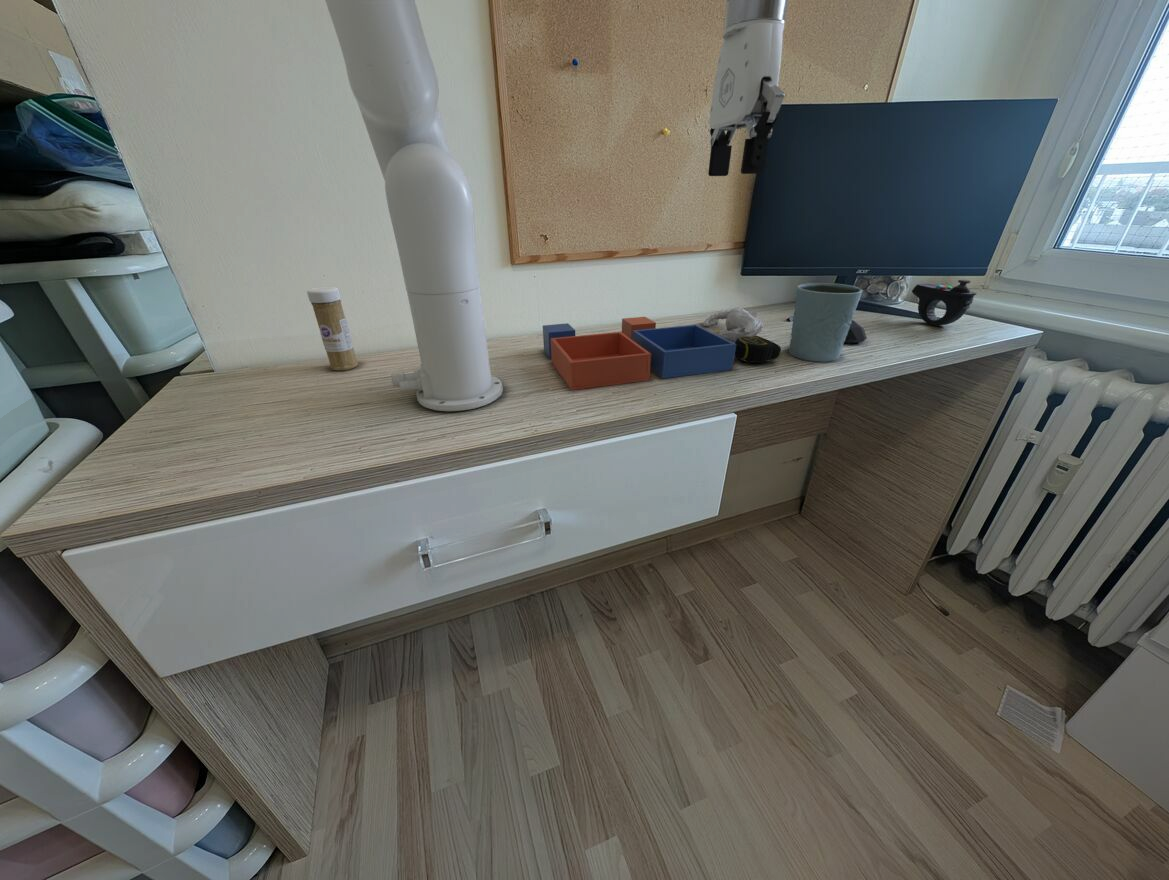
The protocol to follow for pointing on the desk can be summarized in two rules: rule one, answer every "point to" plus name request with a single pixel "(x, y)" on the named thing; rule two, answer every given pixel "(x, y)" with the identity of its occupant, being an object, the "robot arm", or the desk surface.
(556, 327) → the blue block
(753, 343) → the tape measure
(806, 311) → the grey-green cup
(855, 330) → the gaming mouse
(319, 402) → the desk surface
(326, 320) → the sprinkles bottle
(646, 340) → the blue bin
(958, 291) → the controller
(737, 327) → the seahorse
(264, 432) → the desk surface
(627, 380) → the terracotta bin
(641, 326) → the terracotta block
